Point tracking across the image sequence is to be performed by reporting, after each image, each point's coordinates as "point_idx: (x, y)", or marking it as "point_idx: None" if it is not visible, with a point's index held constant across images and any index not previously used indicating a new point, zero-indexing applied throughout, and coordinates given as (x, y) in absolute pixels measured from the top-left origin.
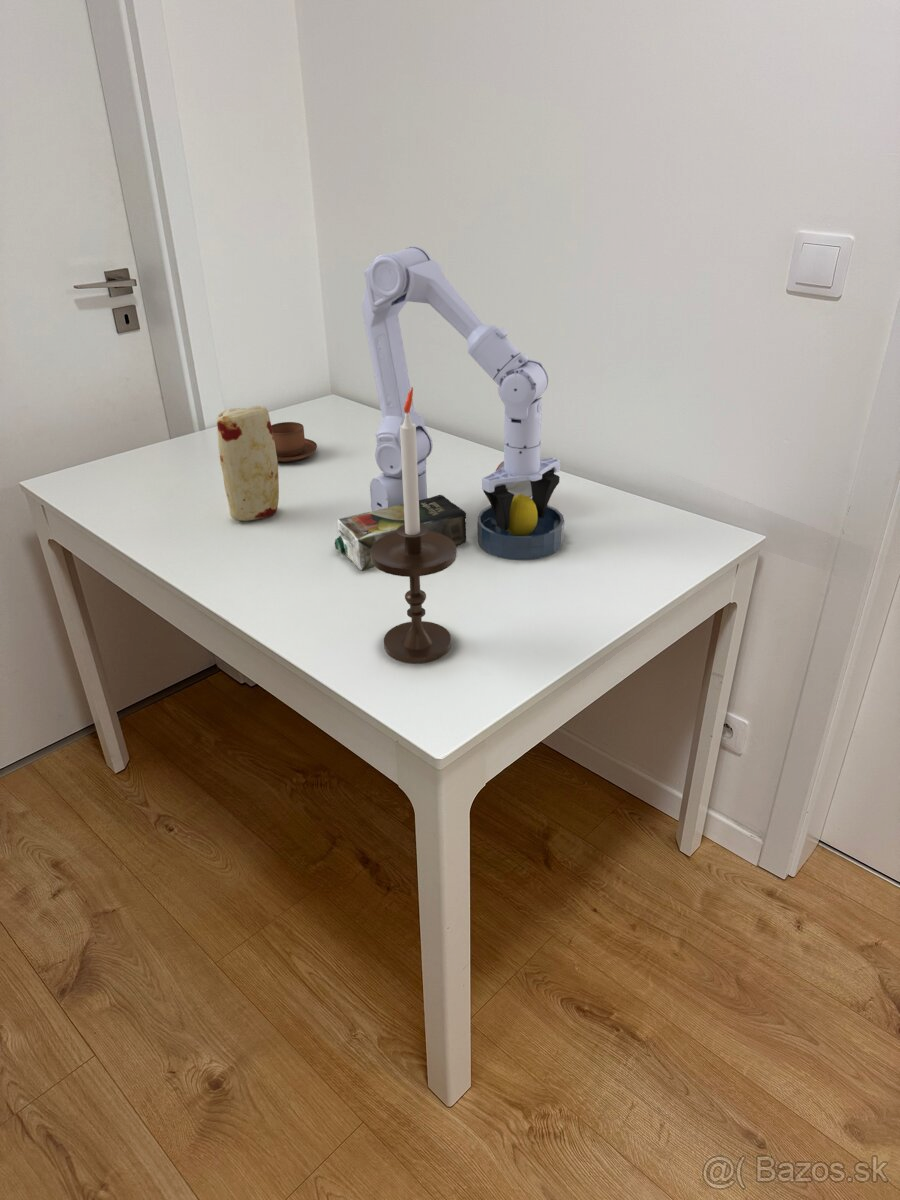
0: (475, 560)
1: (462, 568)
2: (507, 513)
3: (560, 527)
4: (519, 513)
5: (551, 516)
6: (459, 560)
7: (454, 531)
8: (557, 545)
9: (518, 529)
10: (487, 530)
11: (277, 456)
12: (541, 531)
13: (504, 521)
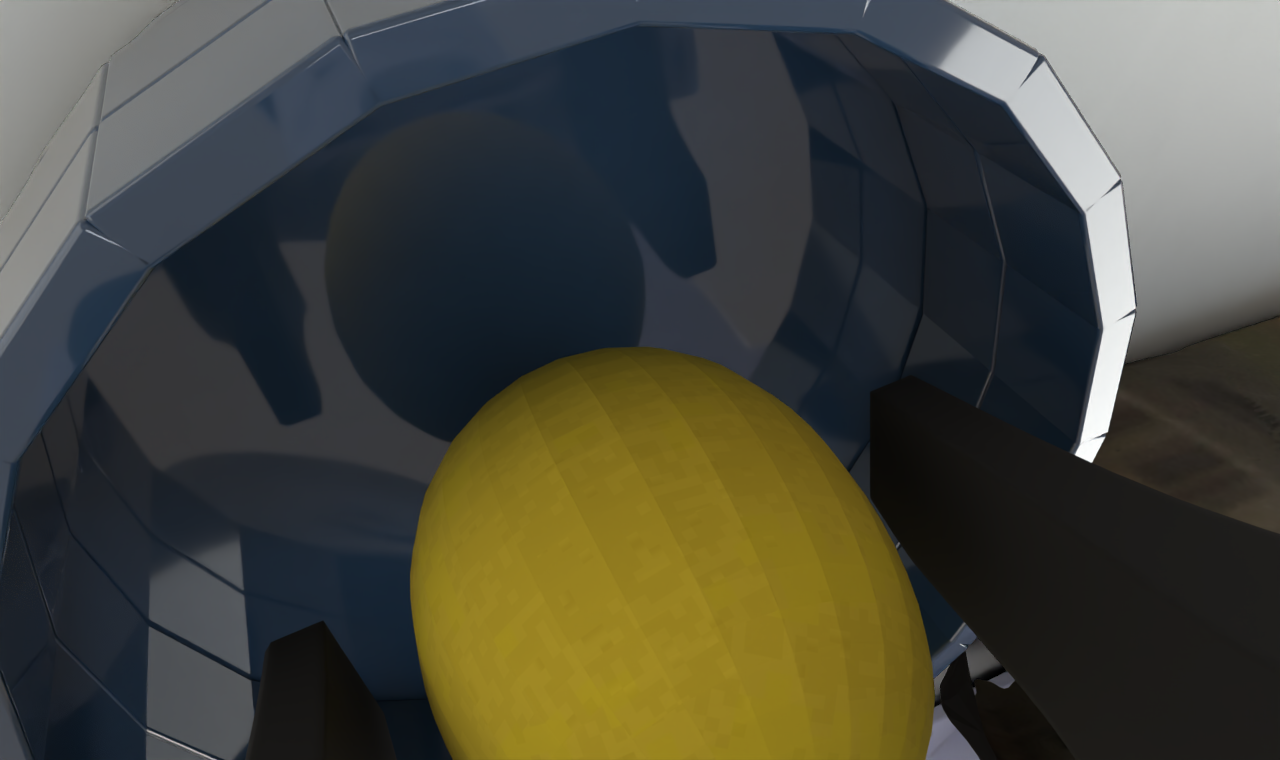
0: (1101, 119)
1: (1270, 8)
2: (1103, 510)
3: (123, 187)
4: (864, 550)
5: (87, 705)
6: (1179, 164)
7: (1183, 461)
8: (194, 15)
9: (746, 380)
10: (1125, 359)
11: None
12: (244, 523)
13: (1027, 434)
